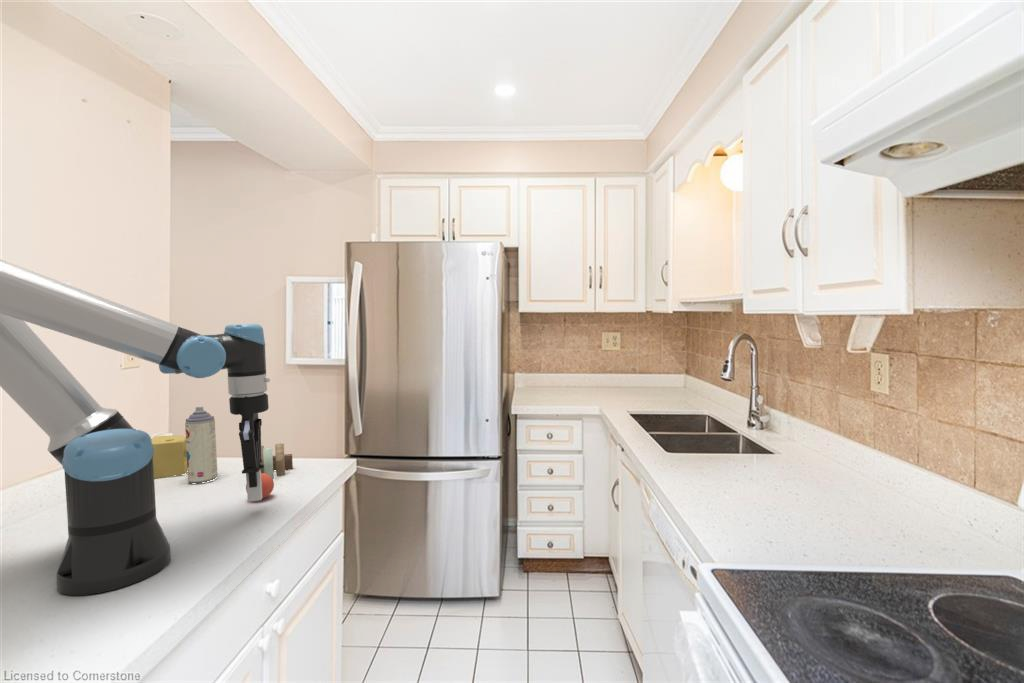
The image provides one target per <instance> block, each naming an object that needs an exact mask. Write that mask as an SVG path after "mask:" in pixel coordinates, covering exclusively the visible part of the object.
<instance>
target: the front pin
mask: <svg viewBox="0 0 1024 683" xmlns="http://www.w3.org/2000/svg"><path fill="white" fill-rule="evenodd" d="M273 456H274V455H273V447H264V449H263V458H264V473H265V474H268V475H269V476H271V478H272V479H275V478H274V476H275V475H274V471H273Z"/></svg>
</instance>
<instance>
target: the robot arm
mask: <svg viewBox="0 0 1024 683" xmlns="http://www.w3.org/2000/svg"><path fill="white" fill-rule="evenodd" d="M27 323H30V324H33V325H36V326H39V327H42V328H44V329H48V330H50V331H54V332H57V333H60V334H63V335H66V336H69V337H73V338H76V339H78V340H82V341H85V342H88V343H91V344H95V345H98V346H101V347H104V348H107V349H110V350H112V351H116V352H119V353H123V354H125V355H128V356H132V357H135V358H138V359H140V360H144V361H147V362H150V363H153V364H157V365H158V369H159V371H160V373H162V374H165V375H166V374H175V375H179V374H185V375H186V376H189V377H191V378H195V379H206V378H209V377H212V376H214V375H217V373H219V372H220V371H221V370H227V390H228V393H227V394H229V395H230V397H229V400H228V402H229V412H230V414H231V415H234V416H238V415H240V416H241V421H240V422H238V429H239V431H238V437H239V440H240V446H241V447H240V448H241V455H242V456H241V457H242V465H243V470H241V474H244V475H245V476H246V477H245V478H246V479H245V480H246V484H247V491H246V496H247V503H249V502H250V503H251V502H258V501H262V483H261V469H260V468H264V465H261V463H262V459H261V445H262V423H263V421H262V418H259V414H260V413H263V412H264V413H265V412H266V411H268V410H269V406H270V405H269V395H268V394H267V393H266V392H267V391H268V383H269V382H270V381H271V379H270V377H267V362H266V360H267V358H266V343H265V340H266V339H265V333H264V328H263V326H262V325H260V324H259V323H249V324H248V323H245V324H227V325H226V326H224V331H223V333H220V334H218V333H217V334H200V333H199V332H198V333H197V332H195V331H192V330H190V329H187V328H184V327H181V326H178V325H176V324H173V323H171V322H169V321H166V320H163V319H160V318H157V317H155V316H152V315H150V314H147V313H144V312H141V311H139V310H136V309H134V308H131V307H128V306H125V305H123V304H120V303H117V302H115V301H113V300H109V299H108V298H104V297H102V296H99V295H96V294H93V293H91V292H88V291H85V290H83V289H81V288H78V287H75V286H72V285H69V284H67V283H65V282H61V281H59V280H56V279H54V278H51V277H48V276H45V275H43V274H40V273H37V272H35V271H33V270H30V269H27V268H25V267H21V266H19V265H16V264H14V263H11V262H8V261H5V260H3V259H0V387H1V388H2V390H3V391H5V393H6V394H7V395H8V396H9V397H10V398H11V399H12V400H13V401H14V402H15V403H16V404H17V405H18V406H19V407H20V408H21V409H22V410H23V411H24V412H25V414H27V415H28V416H29V417H30V419H32V421H33V422H35V424H36V425H37V426H38V427H39V428H40V429H41V430H42V431H43V432H44V433H45V434H46V435H47V436H48V437H49V441H48V442H49V443H48V446H47V452H48V453H49V454H51V456H53V458H54V459H56V461H57V462H58V463H59V464H60V465H61V466H62V468H63V470H64V484H65V500H66V502H65V504H66V515H67V517H66V518H67V530H68V531H67V535H68V537H67V541H66V543H65V548H64V550H63V553H62V557H61V559H60V562H59V565H58V567H57V571H56V576H55V578H56V580H55V581H56V589H57V591H58V592H59V593H61V594H63V595H69V596H85V595H95V594H99V593H105V592H109V591H114V590H117V589H120V588H123V587H127V586H130V585H132V584H136V583H138V582H140V581H143V580H145V579H147V578H149V577H151V576H153V575H155V574H157V573H158V572H160V571H161V570H163V569H164V568H165V567H167V565H168V564H169V563H170V561H171V546H170V542H169V541H168V539H167V537H166V535H165V533H164V531H163V529H162V526H161V525H160V523H159V521H158V519H157V518H158V517H157V507H156V506H157V505H156V492H155V491H156V490H155V489H156V488H155V479H154V468H153V454H154V447H153V444H152V440H151V439H152V437H151V435H150V434H148V433H147V432H146V431H143V430H141V429H136V428H134V427H133V426H132V425H131V424H130V423H129V422H128V421H127V420H126V419H125V417H124V416H123V415H122V414H121V413H120V412H119V411H118V410H117V409H116V408H105V407H102V406H101V405H100V404H99V403H98V402H97V401H96V399H95V398H94V397H93V396H92V395H91V393H89V392H88V390H87V389H86V388H85V387H84V386H83V385H82V384H81V383H80V381H78V380H77V378H76V377H75V376H74V375H73V374H72V373H71V371H69V370H68V368H67V367H66V366H65V365H64V364H63V363H62V362H61V360H60V359H58V357H57V356H56V355H55V353H53V352H52V350H51V349H50V348H49V347H48V346H47V345H46V344H45V343H44V341H43V340H41V338H40V337H39V336H38V335H37V334H36V333H35V332H34V330H33V329H32V328H31V327H30V326H29V325H28V324H27Z"/></svg>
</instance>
